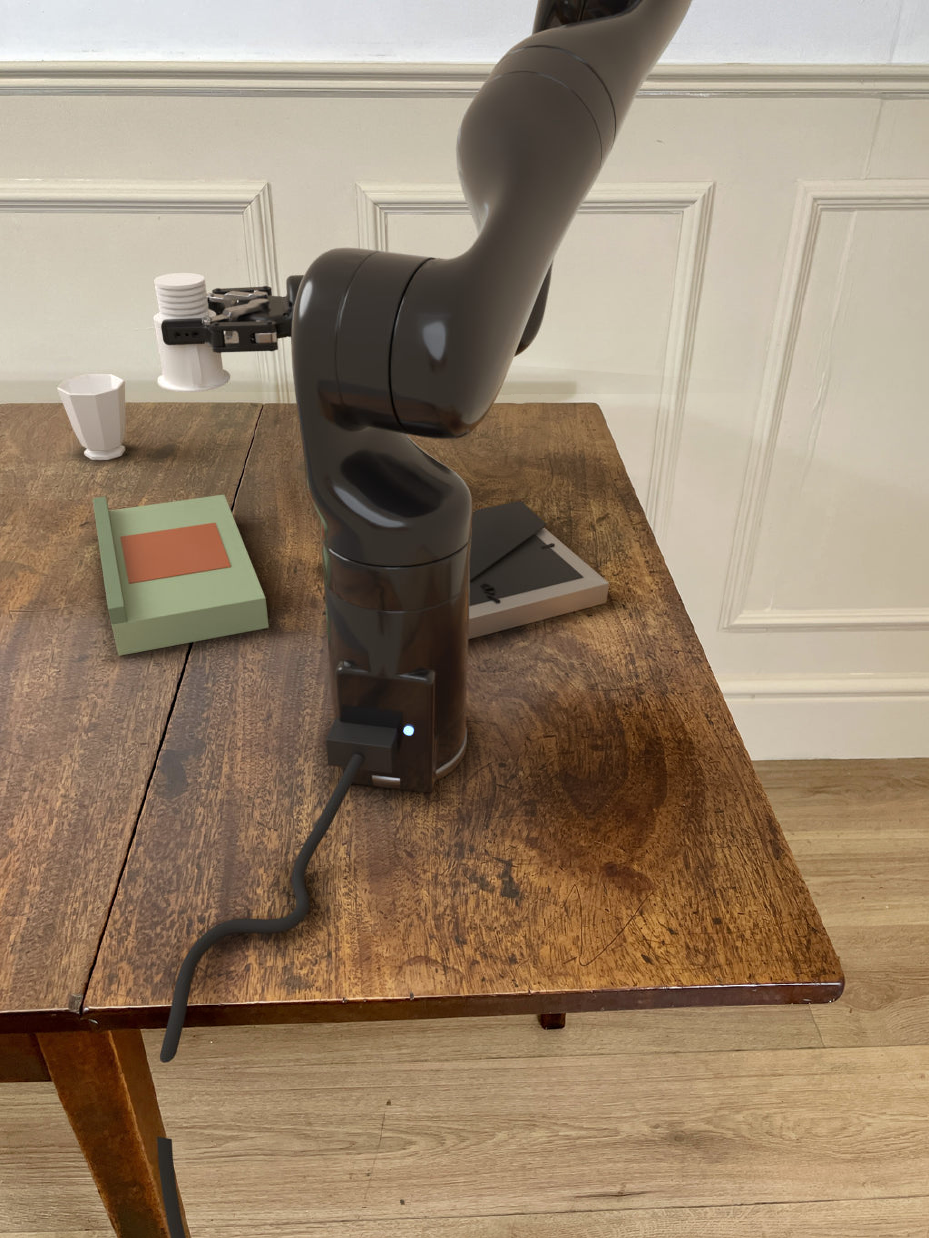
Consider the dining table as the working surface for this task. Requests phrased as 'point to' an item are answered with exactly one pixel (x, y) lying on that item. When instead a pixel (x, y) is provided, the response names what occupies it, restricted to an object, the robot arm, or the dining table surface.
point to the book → (176, 574)
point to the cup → (96, 413)
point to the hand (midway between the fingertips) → (165, 321)
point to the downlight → (192, 361)
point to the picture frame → (524, 572)
